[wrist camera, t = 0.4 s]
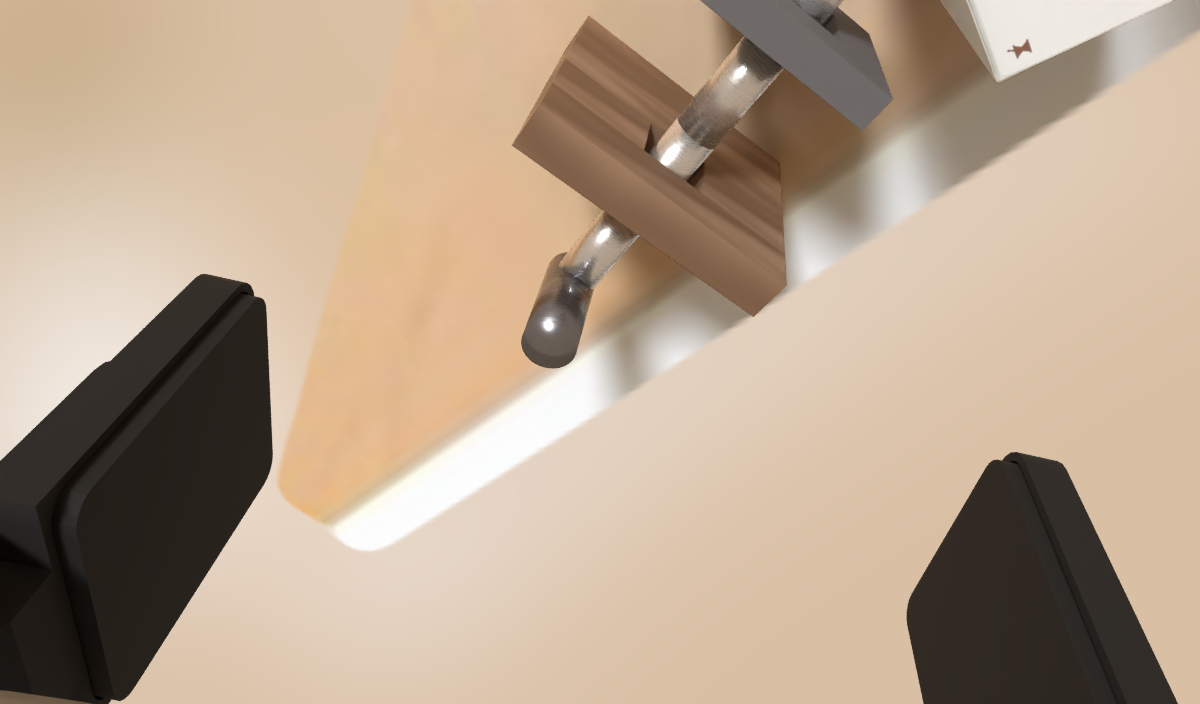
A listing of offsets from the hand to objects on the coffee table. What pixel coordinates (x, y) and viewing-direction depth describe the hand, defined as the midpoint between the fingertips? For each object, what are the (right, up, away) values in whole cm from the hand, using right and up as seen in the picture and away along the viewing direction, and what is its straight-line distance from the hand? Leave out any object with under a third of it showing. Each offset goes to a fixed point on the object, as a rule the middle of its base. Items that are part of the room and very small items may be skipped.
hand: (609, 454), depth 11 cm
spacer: (+8, +17, +26) cm, 32 cm away
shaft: (+4, +11, +26) cm, 28 cm away
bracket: (+2, +12, +34) cm, 36 cm away
